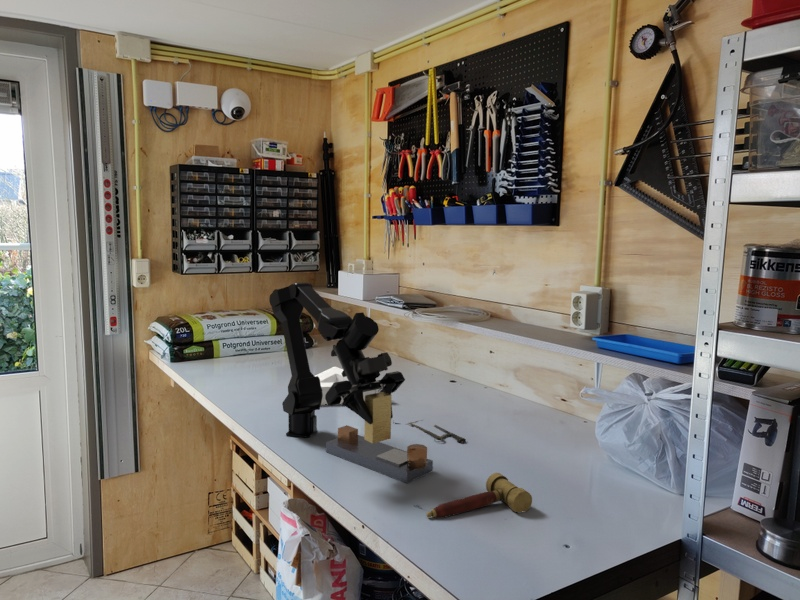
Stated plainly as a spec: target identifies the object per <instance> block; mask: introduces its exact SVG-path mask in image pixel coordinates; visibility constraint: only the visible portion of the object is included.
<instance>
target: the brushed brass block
mask: <svg viewBox="0 0 800 600" xmlns="http://www.w3.org/2000/svg"><path fill="white" fill-rule="evenodd" d="M365 403H366V405H367V408H368V410H369V412H370V414H371V416H372V419H373V423H372V424H369V423H368V422H366V421H365V420H364V436H363V437H364V439H365V440H367V441H369V442H371V443H376V442H380V443H381V442H383V441H387V440H390V439H391V438H392V419H391V405H392V394H391V395H390V394H388V393H385V392H380V393H375V394H370V395H365Z"/></svg>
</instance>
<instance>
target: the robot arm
mask: <svg viewBox="0 0 800 600" xmlns="http://www.w3.org/2000/svg"><path fill="white" fill-rule="evenodd" d="M268 299H269V305H270V306H271V310H272V313H273V315H274V316H275V317H276V319H277V320H278V321H279V322H280V323H281V327H282V333H283V336H284V342H285V343H284V344H285V349H286V353H287V357H288V362H289V363H288V364H289V368H290V373H291V377H290V380H289V381H288V382H289V383H288V385H287V392H288V394H287V395H286V397H285V399H284V400H283V401H282V410H283V412H285V413H286V414H288V431H287V432H285V436H288V437H289V436H290V437H298V438H310V437H311V436H313V434H315V432H317V430H318V427H317V423H318V422H317V420H318V419H317V415H315V414H316V412H315V411H319V410H320V409H321V406H322V405H321V401H322V397H323V393H322V388H321V385H320V379H319V377H318V376H315V375H314V374H313V373H312V371H311V368H310V365H309V364H310V363H309V359H308V353H307V349H306V348H307V347H306V343H305V338H304V334H303V327H302V324H301V323H302V322H301V316H302V313H303V311H304V309H305V310H306V312H307V313H308V314H309V315H310V316H311V317H312V318H314V320H315V321H316V323H317V331H318V332H319V334H320V335H321V337H322V338H323V339H324V340H325V341H327V342H332V341H337V342H336V343H335V344H333V345H332V350H331V352H330V353H331V354H330V356H331V357H336V358H338V360H339V364H340V366H341V367H342V368H341V369H343V370H344V371H343V372H342V373H341V374H342V376H343V377H347V379H348V381H347V380H346V381H341V382H335V383H333V385H332V386H331V387H330V389H329V390H328V392H327V393H326V395H325V399H326V401H327V404H328V405H327V406H328V407H331V406H338V405H337V404H340V402H341V400H342V398H343V400H344V401H343V403H342V404H341V407H346V408H347V409H349V410H350V411H352V412H353V413H355V414H356V415H358V416H359V417H360V418H362V419H363V421H364V422H365V421H366V422H368V423H369V424H372V423H373V419H372V416H371V414H370V412H369V410H368V408H367V405H366V403H365V401H364V399H363V392H366V391H371V390H375V391H376V393H380V392H385V393H388V394H390V395H392V394H393V393H395V392H396V391H398V389H399V388H400V387H401V385H402V384H404V382H405V381H406V378H405V377H404V375H403V373H402V371H399V370H398V371H397V370H395V371H391V372H386V373H385V374H384V375H383V377H381V379H379V380H377V379H378V378H379V377H380V376H381V372H383V371H388V369H389V368H388V367H391V366H392V364H393V362H392V361H393V360H392V358H391V356H390V355H389V353H388V351H387V352H381V353H380V354H377V356H374V357H369V356H367V357H365V354H364V352H363V350H365V349H367V348H368V346H369V345H370V344H371V342H373V340H374V339H375V337H377V334H378V333H379V326H378V323H377V322H376V321H375V320H374V319H373V318H372V317H369V316H367V315H365V313H364V312H363V311H362V312H356V313H354V315H353V318H352V317H351V316H350V315H348V314H347V313H345V312H344V311H342V310H339V309H336V308H334V307H332V306H331V305H330V304H329V303H328V302H327V301H326V300H325V299H324V298H323V297H322V296H321V295H320V294H319V293H318V292H317V291H316V290H315V289H314V288H313V285H312V284H311V283H310V282H307V281H306V282H293V283H292V284H290V285H288V286H285V287H282V288H275V289H273V291H272V293H270V295H269V298H268ZM341 396H342V398H341ZM393 415H394V413H393V406H392V404H391V420H392V419H393Z"/></svg>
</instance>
